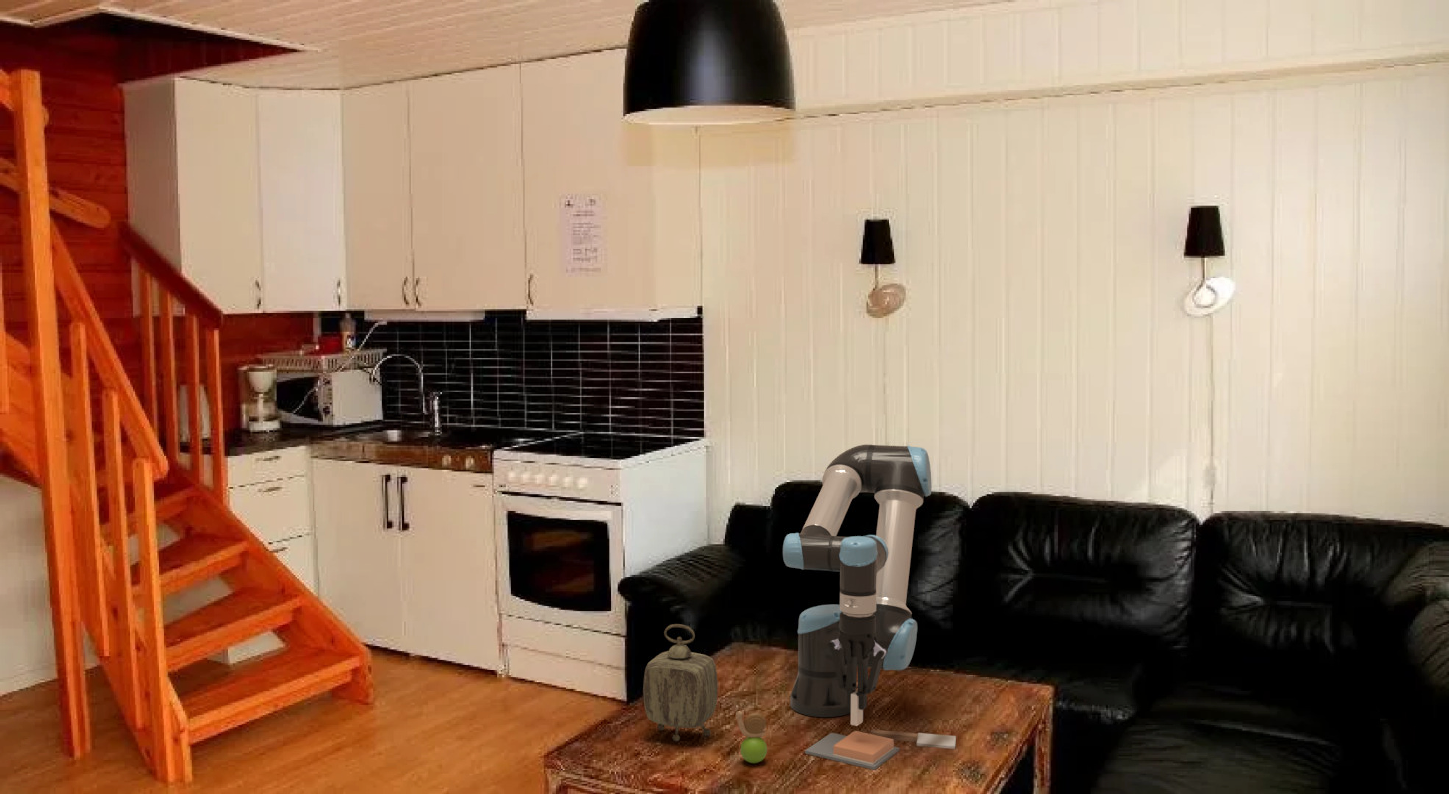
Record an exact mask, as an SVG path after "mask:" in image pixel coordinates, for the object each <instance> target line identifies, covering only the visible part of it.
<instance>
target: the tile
mask: <svg viewBox="0 0 1449 794" xmlns="http://www.w3.org/2000/svg"><path fill="white" fill-rule="evenodd" d="M846 736H847V737H845V738H844V739H842V740H841V741H840V742H838V743H837V744H835V745H834V746H833V755H835V756H839V757H843V758H848V759H852V760H856V761H860V762H865V763H869V764H874V763H875V762H877V761H878V760H879V759H881V758H882V757H883V756H884V755H886V754H887V753H888V752H890V751H891V750H892V749H894V747H895V746H894V745H895V744H894V741H895V740H894V739H890V738H886V737H881V736H877V735H872V734H871V733H867V732H863V731H858V730H854V731H853V732H851V733H850V734H848V735H846Z"/></svg>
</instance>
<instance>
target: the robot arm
mask: <svg viewBox="0 0 1449 794" xmlns="http://www.w3.org/2000/svg"><path fill="white" fill-rule="evenodd" d="M931 472H932V471H931V464H930V457H929V454H928V451H927V450H926V449H925V448H924V447H920V446H919V447H918V446H910V445H882V444H881V445H880V444H860V445H856V446H854V447H851V448H849V449H847V450H845V451H844V452H842V453H841V454H839V455H838V456H836V457H835V458H834V459H832V461H831V462H830V463H829V464H828V466H827V467H826V468H825V470H824V473H823V475H822V478H821V480H822V483H821V484H822V487H821V489H820V490H819V491H820V492H819V493H818V496H817V497H816V500H815V502H814V504H813V506H812V508H811V510H810V512H809V514H808V517H807V519H806V521H805V522H804V523H805V524H804V525H803V527H802V530H801V532H800V533H799V532H795V533H789V534H788V533H787V534H786V536H785V537H784V540H783V545H782V558H783V562H784V564H785V566H786V567H789V568H793V569H794V568H795V569H801V570H811V571H812V570H813V571H829V572H839V604H834V603H833V604H821V605H817V606H812V607H809V608H807V609H805V610H804V611H802V612H801V613H800V614H799V618H798V629H797V635H798V637H797V646H798V647H797V648H798V649H797V652H798V653H797V655H798V656H797V658H798V659H797V670H798V671H797V675H796V678H795V681H794V684H793V687H792V691H791V693H790V696H789V697H790V708H791V709H792V710H793V711H795V712H797V713H798V714H800V715H801V714H802V715H804V716H810V717H817V718H832V717H833V718H835V717H841V716H846V715H849V714H850V725H851V726H856V727H858V726H859V725H860V724H862V723H863V721H864V710H865V709H866V708H867V706H868V704H867V703H868V702H867V701H868V699H867V698H868V695H870V694H871V693H873V692H874V691H876V689H877V685H878V682H879V677H880V674H881V670H884V671H891V670H892V671H903V670H906V668H908V667H909V665H910V663H911V660H912V658H913V656H914V652H915V648H916V642H917V634H918V622H917V621H916V620H915V619H913V618H912V614H913V613H912V611H911V610H910V609H909V608H908V607H907V596H908V595H907V594H908V588H909V587H908V586H909V578H910V577H909V576H910V568H911V559H912V547H913V540H914V532H915V529H914V528H915V522H916V521H915V520H916V512H917V509H918V508H920V507H921V506H922V505H923V503H924V496H925V497H926V498H927V497H928V496H931V494H932V488H933V487H932V473H931ZM859 493H873V494H874V499H875V500H876V502H877V504H878V505H879V509H878V518H877V524H876V525H877V526H876V534H867V535H863V536H861V535H857V536H856V535H855V536H837V535H838V533H839V531H840V528H841V525H842V524H843V521H844V519H845V516H846V514H847V512H848V509H849V507H850V505H851V502H852V500H853V499H855V498H856V497H858V495H860V494H859ZM869 669H870V671H869Z"/></svg>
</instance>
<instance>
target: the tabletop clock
mask: <svg viewBox="0 0 1449 794" xmlns="http://www.w3.org/2000/svg"><path fill="white" fill-rule="evenodd" d="M672 628H681V629H685V630H687V631H689V633H691V635H692V638H690V639H688V640H683V637H681V636H677V638H676V639H673V638H671V637H669V636H668V634H667V632H668V631H669V630H670V629H672ZM663 633H664V634H663V635H664V637H665V638H666V639H667V640H668V641H669V642H671V643H673V644H674V645H672V646H671V647H670V648H669V650H667V651H662V652H661V653H659V654H658V655H656V656H655V657H654V658H652V659H651V660H650V661H649V662H648V663H647V665H646V667H645V669H644V674H643V675H644V676H643V687H642V694H643V705H644V711H645V714H646V717H647V719H648V720H650V721H651V722H653V723H655V724H657V728H658V729H657V730H659V731H663V730H665V726H667V727H673V728H674V730H675V733H674V734H673V735H672V741H674V742H675V743H676V742H679V741H680V739H681V736H680V734H679V730H680V729H679V728H684V729H686V728H687V729H693V728H698V727H700V728H701V729H702V730H703V731H702V734H703V735H704V736H705V737H709V736H710V735H711V730H710V729H709V728H706V726H705V725H704V724H705V723H706V722H707V721H708V720H709V718H711V717H712V715H714V712H715V710H716V707H717V702H718V690H719V689H718V688H719V685H718V684H719V683H718V672H717V666H716V663H715V661H714V658H712V657H711V656H708V655H706V654H703V653H702V654H701V653H697V652H692V651H691V649H690V648H689V647H688V646H687V644H690V643H692V642H693V641H694V640H695V637H696V636H695V635H696V634H695V631H694V630H693V629H692V628H691V627H690V626H689V625H685V624H680V623H674V624H669V625H668V626H667V627H666V628H665V630H664V632H663Z"/></svg>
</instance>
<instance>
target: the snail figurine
mask: <svg viewBox="0 0 1449 794" xmlns="http://www.w3.org/2000/svg"><path fill="white" fill-rule="evenodd" d="M739 709H740V706H739V705H738V704H736V706H735V710H736V711H735V716H736V721H737V724H738V727H739V731H740V732H741V734H742V735H744V736H745V737H746V738H745V739H744V740H742V742H741V745H740V754H741V756H742V758H743V760H745V761H746V762H748V763H750V764H757V763H760V762H762V761H763V760H764V759H765V758H766V755H767V753H768V746H767V744H766V743H767V742H766V741H765V740H764V739H763V738H762V737H763V736H765V734H766V733H767V731H766V730H765V729H766V727H767V720H766V717H765V716H764V715H763V714H761V713H760V712H752V713H750V714H748V715H746V717H745V719H743V715H744V713H743V712H742V711H741V710H739Z"/></svg>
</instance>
